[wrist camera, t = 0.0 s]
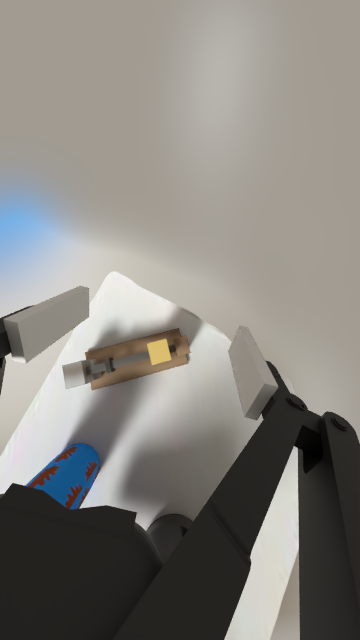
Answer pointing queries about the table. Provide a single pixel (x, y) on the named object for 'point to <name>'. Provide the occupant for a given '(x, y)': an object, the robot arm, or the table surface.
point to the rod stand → (125, 361)
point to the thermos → (69, 475)
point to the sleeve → (159, 351)
